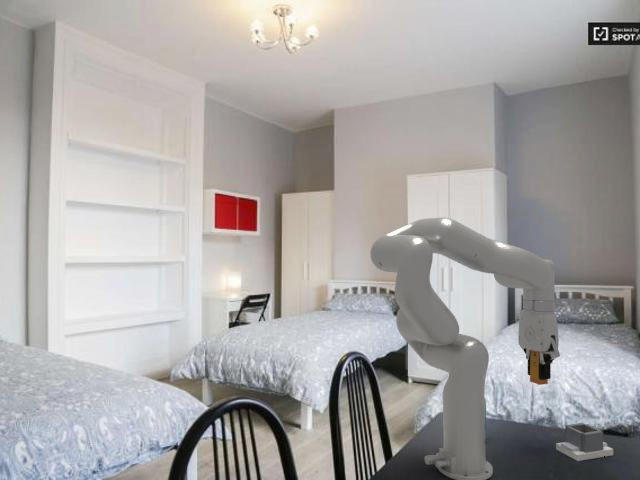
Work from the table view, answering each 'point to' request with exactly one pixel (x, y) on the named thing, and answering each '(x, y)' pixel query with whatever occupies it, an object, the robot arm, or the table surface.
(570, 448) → the grey slotted holder
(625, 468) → the table surface
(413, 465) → the table surface
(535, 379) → the supplement box
